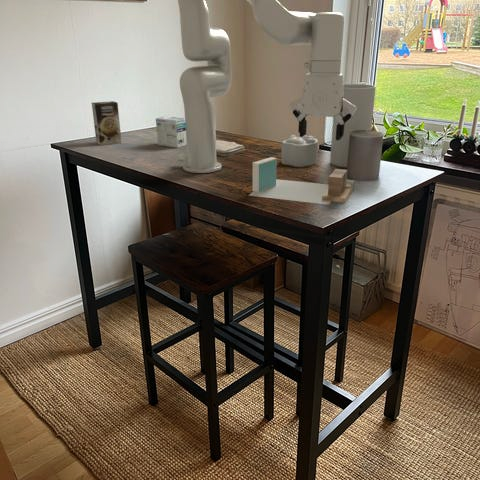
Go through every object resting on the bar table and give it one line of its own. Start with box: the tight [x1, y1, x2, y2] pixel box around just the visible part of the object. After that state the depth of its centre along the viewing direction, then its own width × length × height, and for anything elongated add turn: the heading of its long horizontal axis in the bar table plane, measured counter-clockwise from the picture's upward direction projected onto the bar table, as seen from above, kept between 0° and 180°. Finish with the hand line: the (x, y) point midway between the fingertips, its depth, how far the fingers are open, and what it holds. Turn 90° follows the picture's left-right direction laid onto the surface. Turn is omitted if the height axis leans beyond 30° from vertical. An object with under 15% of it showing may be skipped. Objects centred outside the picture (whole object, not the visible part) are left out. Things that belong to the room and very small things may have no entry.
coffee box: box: [91, 101, 123, 146], centre depth 192 cm, size 9×6×16 cm
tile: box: [252, 156, 278, 192], centre depth 133 cm, size 2×8×8 cm, turn 138°
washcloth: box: [216, 139, 246, 157], centre depth 180 cm, size 12×18×3 cm, turn 51°
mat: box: [248, 178, 332, 206], centre depth 132 cm, size 22×17×1 cm
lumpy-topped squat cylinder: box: [281, 134, 319, 168], centre depth 162 cm, size 10×13×9 cm
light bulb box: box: [155, 115, 187, 148], centre depth 188 cm, size 11×7×11 cm, turn 58°
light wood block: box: [328, 168, 355, 196], centre depth 129 cm, size 14×6×5 cm, turn 158°
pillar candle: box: [346, 129, 385, 182], centre depth 141 cm, size 10×10×15 cm
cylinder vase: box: [329, 83, 377, 169], centre depth 155 cm, size 12×12×25 cm
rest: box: [322, 184, 354, 203], centre depth 128 cm, size 6×12×2 cm, turn 158°
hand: (320, 137), depth 124 cm, fingers open, 9 cm apart
